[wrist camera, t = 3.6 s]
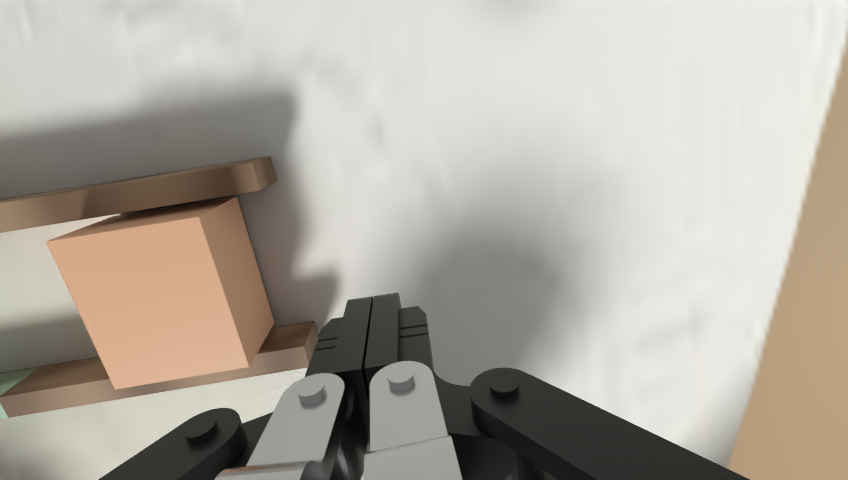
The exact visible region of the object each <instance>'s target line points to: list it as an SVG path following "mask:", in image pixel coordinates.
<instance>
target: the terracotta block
mask: <svg viewBox="0 0 848 480" xmlns="http://www.w3.org/2000/svg"><path fill="white" fill-rule="evenodd" d="M46 243H47V245H48V247H49V249H50V252H51V254H52V256H53V258H54V260H55V262H56V264H57V267H58V269H59V271H60V273H61V275H62V277H63V279H64V282H65V284H66V286H67V288H68V290H69V292H70V294H71V297H72V299H73V301H74V303H75V305H76V307H77V309H78V312H79V314H80V316H81V318H82V320H83V322H84V324H85V327H86V329H87V331H88V333H89V335H90V337H91V339H92V342H93V344H94V346H95V348H96V350H97V352H98V354H99V357H100V359H101V361H102V363H103V365H104V367H105V369H106V372H107V374H108V376H109V378H110V380H111V382H112V384H113V387H114V389H115V390H116V389H122V388H127V387H133V386H139V385H145V384H151V383H157V382H163V381H169V380H175V379H181V378H187V377H193V376H199V375H205V374H211V373H217V372H223V371H229V370H235V369H240V368H246V367H249V366H250V365H251V363H252V361H253V359H254V358H255V356H256V354H257V353H258V351H259V349H260V347H261V346H262V344H263V342H264V340H265V339H266V337H267V335H268V333H269V332H270V330H271V328H272V326H273V325H274V323H275V322H274V318H273V315H272V312H271V308H270V305H269V302H268V299H267V295H266V292H265V289H264V285H263V282H262V279H261V275H260V272H259V269H258V265H257V262H256V259H255V255H254V252H253V249H252V245H251V242H250V239H249V235H248V232H247V229H246V225H245V222H244V219H243V215H242V212H241V209H240V205H239V202H238V199H237V196H236V197H230V198H224V199H218V200H211V201H205V202H199V203H193V204H187V205H180V206H174V207H168V208H162V209H156V210H150V211H143V212H137V213H131V214H125V215H119V216H113V217H111V218H108V219H105V220H102V221H100V222H97V223H94V224H92V225H89V226H86V227H84V228H81V229H78V230H76V231H73V232H70V233H68V234H65V235H62V236H60V237H57V238H54V239H52V240H49V241H46Z"/></svg>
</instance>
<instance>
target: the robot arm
mask: <svg viewBox="0 0 848 480" xmlns="http://www.w3.org/2000/svg"><path fill="white" fill-rule="evenodd" d="M314 350H315V351H314V352H313V355H312V357H311V360H310V363H309V366H308V369H307V372H306V375H305V378H302V379H300V380H299V381H297V382H295V383H294V384H292V385H291V386H290V387H289V388H288V389H287V390H286V391H285V392H284V393H283V395H282V396H281V398H280V400H279V402H278V404H277V406H276V408H275V410H274V412H272V413H269V414H267V415H264V416H262V417H259V418H256V419H254V420H251V421H248V422H245V423H243V424H242V422H241V419H240V417H239V414H238V413H237V412H236V411H235V410H232V409H229V408H218V409H213V410H209V411H206V412H203V413H201V414H198V415H196V416H194V417H192V418H191V419H189V420H187V421H186V422H184V423H183V424H181V425H180V426H178V427H177V428H175V429H174V430H172V431H171V432H169V433H168V434H166V435H165V436H163V437H162V438H160V439H159V440H157V441H156V442H154V443H153V444H151V445H150V446H148V447H147V448H145V449H144V450H142V451H141V452H139V453H138V454H136V455H135V456H133V457H132V458H130V459H129V460H127V461H126V462H124V463H123V464H121V465H120V466H118V467H117V468H115V469H114V470H112V471H111V472H109V473H108V474H106V475H105V476H103V477H102V478H100V479H99V480H749V479H747V478H745V477H743V476H741V475H739V474H737V473H735V472H733V471H731V470H729V469H726V468H724V467H722V466H720V465H718V464H716V463H714V462H712V461H710V460H708V459H706V458H703V457H701V456H699V455H697V454H695V453H693V452H691V451H689V450H687V449H685V448H682V447H680V446H678V445H676V444H674V443H672V442H670V441H668V440H666V439H664V438H662V437H659V436H657V435H655V434H653V433H651V432H649V431H647V430H645V429H643V428H641V427H638V426H636V425H634V424H632V423H630V422H628V421H626V420H624V419H622V418H620V417H618V416H615V415H613V414H611V413H609V412H607V411H605V410H603V409H601V408H599V407H597V406H594V405H592V404H590V403H588V402H586V401H584V400H582V399H580V398H578V397H576V396H573V395H571V394H569V393H567V392H565V391H563V390H561V389H559V388H557V387H555V386H553V385H550V384H548V383H546V382H544V381H542V380H540V379H538V378H536V377H534V376H532V375H529V374H527V373H525V372H523V371H520V370H517V369H512V368H496V369H491V370H488V371H485V372H483V373H481V374H480V375H478V376H477V377H476V378H475V379H474V380H473V382H472V383H471V385H470V386H460V385H454V384H450V383H448V382H445V381H444V380H442V379H440V378H439V377H438V376H437V375H436V374H435V372H434V368H433V360H432V353H431V346H430V339H429V332H428V326H427V319H426V314H425V313H424V312H423V311H422V310H421V309H420V308H419V307H418V306H416V307H409V308H403V309H401V303H400V297H399V293H393V294H386V295H379V296H374V298H373V297H366V298H359V299H352V300H348V301H347V305H346V308H345V312H344V316H343V317H341V318H334V319H331V320H330V321H329V322H328V323H327V324H326V325H325V326H324V327H323V328H322V329H321V332H320V335H319V337H318V342H317V343H316V346H315V349H314Z"/></svg>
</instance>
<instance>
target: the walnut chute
mask: <svg viewBox="0 0 848 480" xmlns="http://www.w3.org/2000/svg"><path fill="white" fill-rule="evenodd" d="M274 182H276V177H275V173H274V169H273V166H272V162H271V158H270V156H269V157H263V158H257V159H251V160H244V161H238V162H232V163H226V164H220V165H213V166H207V167H201V168H195V169H188V170H182V171H176V172H170V173H164V174H157V175H151V176H145V177H139V178H132V179H126V180H120V181H114V182H108V183H101V184H95V185H89V186H83V187H76V188H70V189H64V190H58V191H52V192H45V193H39V194H33V195H27V196H20V197H14V198H8V199H2V200H0V233H1V232H8V231H14V230H20V229H26V228H32V227H39V226H45V225H51V224H57V223H63V222H69V221H76V220H82V219H88V218H94V217H100V216H107V215H113V214H119V213H125V212H131V211H137V210H144V209H150V208H156V207H162V206H168V205H174V204H181V203H187V202H193V201H199V200H205V199H212V198H218V197H224V196H230V195H236V194H242V193H249V192H255V191H260V190H262V189H264V188H266V187H267V186H269V185H271V184H272V183H274ZM317 342H318V335H317V331H316V327H315V323H314V321H312V322H306V323H300V324H294V325H288V326H282V327H276V328H271V330H270V332H269V333H268V335H267V337H266V339H265V340H264V342H263V344H262V346H261V347H260V349H259V351H258V353H257V354H256V356H255V358H254V359H253V361H252V363H251V365H250V366H249V367H246V368H240V369H235V370H229V371H223V372H217V373H211V374H205V375H199V376H193V377H187V378H181V379H175V380H169V381H163V382H157V383H151V384H145V385H139V386H133V387H127V388H122V389H116V390H115V389H114V387H113V384H112V382H111V380H110V378H109V376H108V374H107V372H106V369H105V367H104V365H103V363H102V361H101V359H100V357H96V358H90V359H84V360H78V361H72V362H66V363H60V364H54V365H48V366H42V367H36V368H30V369H24V370H18V371H12V372H6V373H0V419H4V418H10V417H16V416H22V415H27V414H33V413H39V412H45V411H51V410H57V409H63V408H69V407H75V406H81V405H87V404H93V403H99V402H105V401H111V400H117V399H122V398H128V397H134V396H140V395H146V394H152V393H158V392H164V391H170V390H176V389H182V388H188V387H194V386H200V385H206V384H211V383H217V382H223V381H229V380H235V379H241V378H247V377H253V376H259V375H265V374H271V373H277V372H283V371H289V370H295V369H300V368H306V367H308V366H309V363H310V360H311V357H312V355H313V352H314V351H315V350H314V349H315V346H316V343H317Z"/></svg>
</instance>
